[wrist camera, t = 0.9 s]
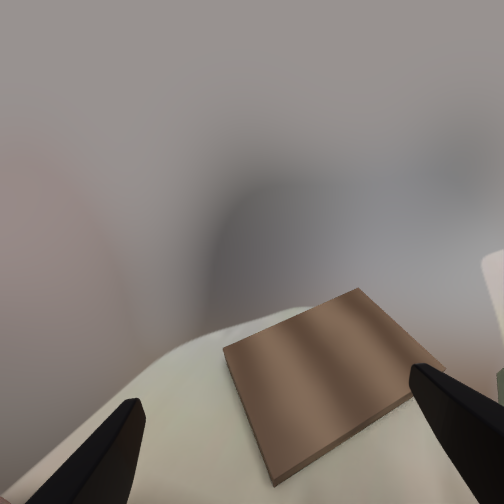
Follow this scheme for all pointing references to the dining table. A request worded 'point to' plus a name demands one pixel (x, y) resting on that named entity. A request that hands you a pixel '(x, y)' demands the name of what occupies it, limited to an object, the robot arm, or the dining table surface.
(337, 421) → the walnut base board
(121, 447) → the robot arm
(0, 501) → the decorative fruit
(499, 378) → the sage-green block
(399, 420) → the dining table surface
